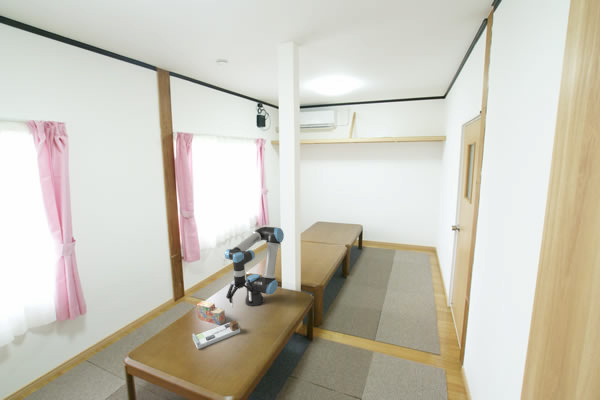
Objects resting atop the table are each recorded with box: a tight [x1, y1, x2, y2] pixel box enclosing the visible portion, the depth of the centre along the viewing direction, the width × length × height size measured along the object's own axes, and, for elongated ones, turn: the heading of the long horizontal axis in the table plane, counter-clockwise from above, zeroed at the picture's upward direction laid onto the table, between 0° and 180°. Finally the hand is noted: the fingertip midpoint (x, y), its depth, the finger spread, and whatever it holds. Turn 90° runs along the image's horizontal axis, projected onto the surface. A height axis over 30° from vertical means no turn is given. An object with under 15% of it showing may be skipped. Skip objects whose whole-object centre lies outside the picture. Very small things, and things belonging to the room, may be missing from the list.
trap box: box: [192, 322, 241, 350], centre depth 190 cm, size 29×12×4 cm, turn 125°
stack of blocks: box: [196, 300, 226, 326], centre depth 209 cm, size 21×6×12 cm, turn 65°
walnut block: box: [229, 319, 240, 331], centre depth 194 cm, size 4×4×4 cm
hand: (241, 303), depth 196 cm, fingers open, 13 cm apart
